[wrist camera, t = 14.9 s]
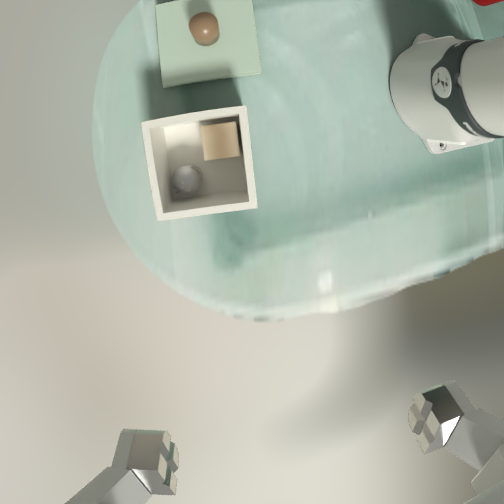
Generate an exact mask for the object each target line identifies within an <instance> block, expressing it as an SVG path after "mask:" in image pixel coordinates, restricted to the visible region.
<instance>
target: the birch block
mask: <svg viewBox="0 0 504 504" xmlns="http://www.w3.org/2000/svg"><path fill="white" fill-rule="evenodd" d="M200 128H201V136H202V144H203V151H204V159H205V161H206V160H214V159H221V158H229V157H237V156H240V153H239V144H238V136H237V127H236V122H229V123H221V124H214V125H207V126H200Z"/></svg>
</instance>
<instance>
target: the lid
mask: <svg viewBox="0 0 504 504" xmlns="http://www.w3.org/2000/svg"><path fill="white" fill-rule="evenodd" d="M156 19H157V33H158V45H159V56H160V66H161V76H162V86H163V87H164V88H168V87H173V86H178V85H184V84H190V83H196V82H202V81H209V80H216V79H224V78H232V77H241V76H251V75H261V65H260V57H259V49H258V42H257V34H256V26H255V19H254V12H253V5H252V0H177V1H172V2H167V3H162V4H158V5H156Z"/></svg>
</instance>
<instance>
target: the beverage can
mask: <svg viewBox="0 0 504 504" xmlns="http://www.w3.org/2000/svg"><path fill="white" fill-rule="evenodd" d="M473 1H474V2H475V3H477V4H478V5H481V6H487V5H490V4H494V3H497V2H501V1H504V0H473Z"/></svg>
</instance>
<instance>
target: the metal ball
mask: <svg viewBox="0 0 504 504" xmlns="http://www.w3.org/2000/svg"><path fill="white" fill-rule="evenodd" d="M202 181H203V174H202V171H201V170H200V168H199V167H197V166H196V165H193V164H185V165H183V166H181V167H180V168H178V169H177V170H176V171H175V172H174V173H173V175H172V177H171V186H172V188H173V190H174V191H175V192H176V193H177V194H179V195H181V196H190V195H193V194H194V193H196V192H197V191H198V189H199V187H200V186H201V184H202Z"/></svg>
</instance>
